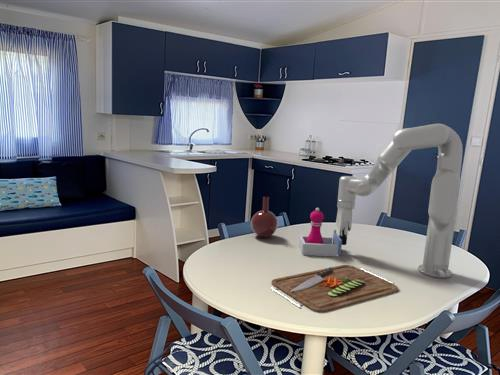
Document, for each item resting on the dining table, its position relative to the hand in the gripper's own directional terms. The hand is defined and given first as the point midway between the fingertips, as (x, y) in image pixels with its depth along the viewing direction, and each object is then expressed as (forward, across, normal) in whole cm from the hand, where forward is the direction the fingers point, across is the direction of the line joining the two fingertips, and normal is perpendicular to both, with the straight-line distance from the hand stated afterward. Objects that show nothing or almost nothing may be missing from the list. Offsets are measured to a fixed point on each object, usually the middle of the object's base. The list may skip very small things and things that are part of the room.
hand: (342, 244), depth 187 cm
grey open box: (+4, -1, -10) cm, 11 cm away
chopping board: (+5, +38, -11) cm, 40 cm away
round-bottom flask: (+4, -19, -34) cm, 39 cm away
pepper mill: (+4, -1, -12) cm, 13 cm away
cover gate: (+4, -2, -2) cm, 5 cm away
